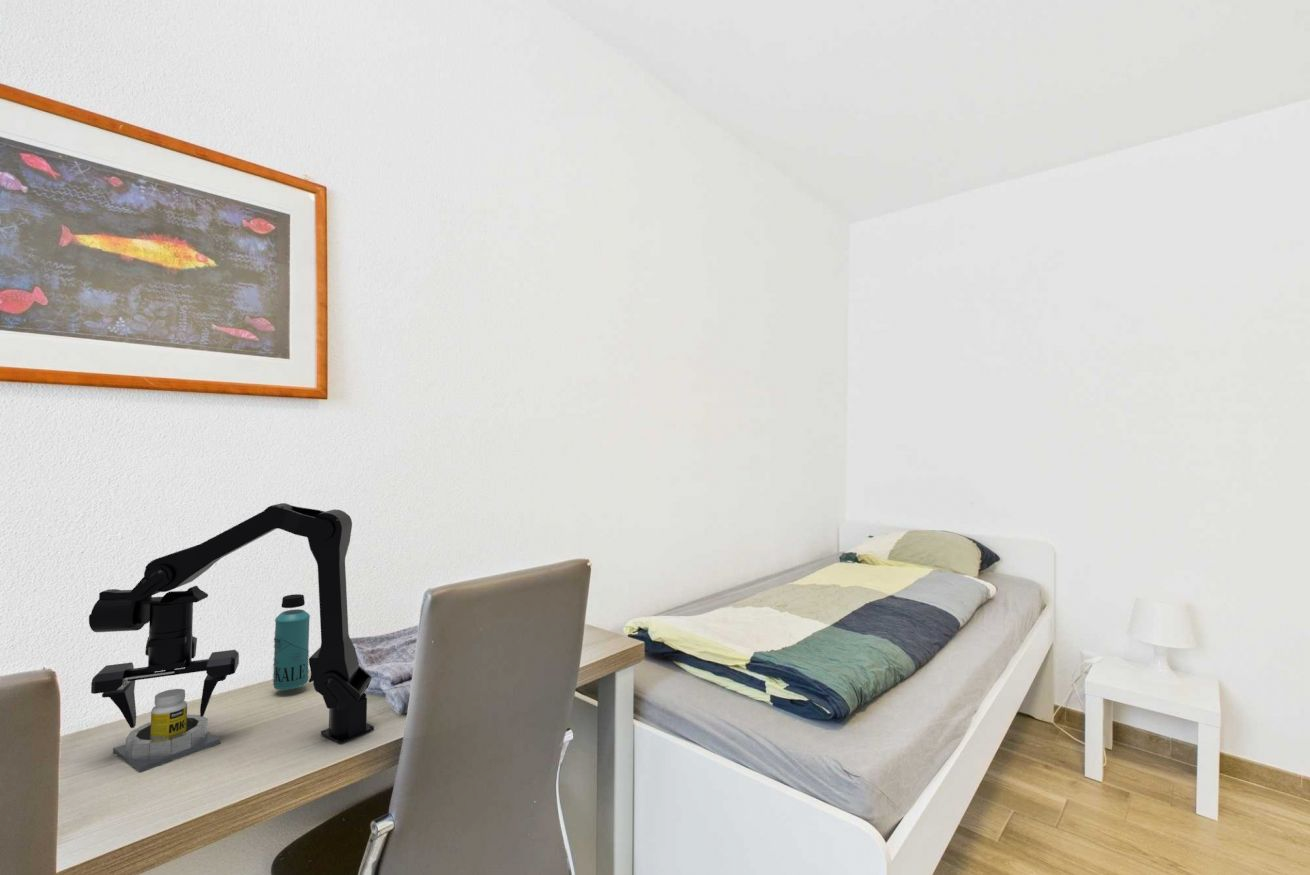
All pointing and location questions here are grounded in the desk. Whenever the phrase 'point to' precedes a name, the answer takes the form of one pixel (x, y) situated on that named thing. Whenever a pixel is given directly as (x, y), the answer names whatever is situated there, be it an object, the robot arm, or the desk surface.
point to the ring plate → (165, 744)
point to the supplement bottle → (169, 714)
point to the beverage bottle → (291, 645)
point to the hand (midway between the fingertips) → (168, 721)
